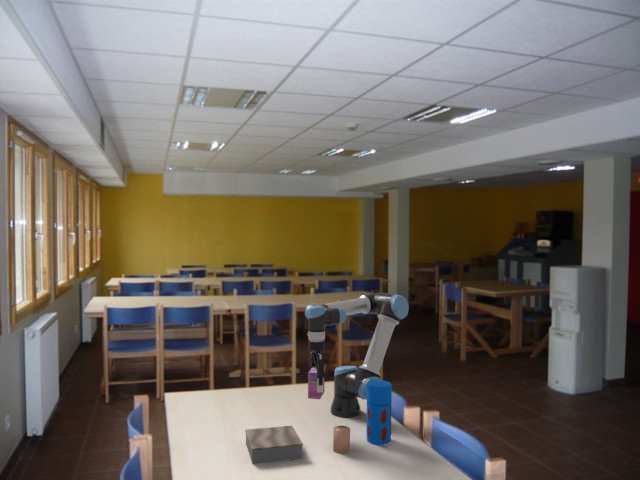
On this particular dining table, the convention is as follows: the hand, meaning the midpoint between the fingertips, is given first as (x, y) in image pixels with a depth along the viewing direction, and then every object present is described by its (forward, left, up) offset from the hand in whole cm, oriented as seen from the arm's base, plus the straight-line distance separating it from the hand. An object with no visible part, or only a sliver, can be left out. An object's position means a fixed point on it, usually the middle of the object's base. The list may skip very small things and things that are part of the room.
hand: (316, 388), depth 237 cm
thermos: (-25, +14, -21) cm, 35 cm away
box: (0, 0, -4) cm, 4 cm away
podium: (+22, +14, -21) cm, 33 cm away
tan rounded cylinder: (-6, +20, -21) cm, 29 cm away
